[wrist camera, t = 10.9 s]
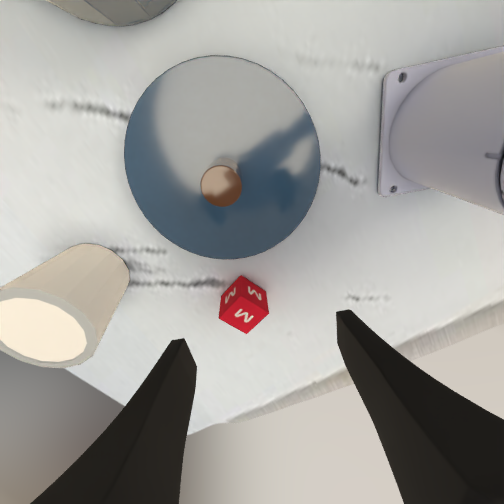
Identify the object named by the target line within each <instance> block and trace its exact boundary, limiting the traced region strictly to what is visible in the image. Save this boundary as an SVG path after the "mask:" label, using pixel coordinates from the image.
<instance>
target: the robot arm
mask: <svg viewBox="0 0 504 504" xmlns="http://www.w3.org/2000/svg"><path fill="white" fill-rule="evenodd" d="M400 74H402V75H403V80H402V82H401V83H400V82H399V80H398V77H399V75H400ZM392 186H394V189H393V191H390V189H391V187H392ZM430 188H432V189H434V190H437V191H440V192H443V193H445V194H448V195H451V196H454V197H456V198H459V199H462V200H465V201H467V202H470V203H473V204H475V205H478V206H481V207H484V208H486V209H489V210H492V211H495V212H497V213H500V214H503V215H504V46H500V47H495V48H491V49H486V50H482V51H477V52H473V53H468V54H464V55H459V56H455V57H450V58H446V59H441V60H436V61H432V62H427V63H423V64H418V65H414V66H409V67H405V68H400V69H396V70H392V71H390V72H388V73H387V74H386V76H385V77H384V81H383V99H382V119H381V138H380V158H379V178H378V193H379V195H381V196H383V197H388V196H393V195H399V194H404V193H409V192H414V191H419V190H425V189H430ZM336 319H337V343H338V346H339V349H340V352H341V354H342V357H343V360H344V363H345V365H346V367H347V369H348V371H349V373H350V376H351V378H352V380H353V382H354V384H355V386H356V388H357V390H358V392H359V394H360V396H361V398H362V400H363V402H364V404H365V406H366V408H367V410H368V412H369V414H370V416H371V419H372V421H373V423H374V425H375V428H376V430H377V433H378V436H379V438H380V441H381V443H382V446H383V448H384V451H385V453H386V456H387V458H388V461H389V464H390V467H391V469H392V472H393V475H394V477H395V480H396V482H397V485H398V488H399V491H400V494H401V496H402V499H403V502H404V504H504V420H503V419H502V418H500V417H498V416H496V415H494V414H492V413H490V412H489V411H487V410H485V409H483V408H482V407H480V406H478V405H476V404H475V403H473V402H471V401H470V400H468V399H466V398H464V397H463V396H461V395H459V394H458V393H456V392H454V391H453V390H451V389H450V388H448V387H447V386H445V385H443V384H442V383H440V382H439V381H437V380H436V379H434V378H433V377H431V376H430V375H428V374H427V373H425V372H424V371H423V370H421V369H420V368H418V367H417V366H416V365H414V364H413V363H412V362H410V361H409V360H408V359H406V358H405V357H404V356H402V355H401V354H400V353H399V352H397V351H396V350H395V349H394V348H392V347H391V346H390V345H389V344H388V343H386V342H385V341H384V340H383V339H382V338H380V337H379V336H378V335H377V334H376V333H375V332H374V331H372V330H371V329H370V328H369V327H368V326H367V325H366V324H365V323H364V322H363V321H362V320H361V319H360V318H358V317H357V316H356V315H355V314H354V313H353V312H352V311H351V310H344V311H338V312H336ZM196 373H197V366H196V363H195V361H194V359H193V357H192V354H191V352H190V350H189V348H188V346H187V343H186V341H185V339H184V338H183V339H177V340H172V341H171V342H170V344H169V345H168V347H167V348H166V350H165V351H164V353H163V354H162V356H161V357H160V359H159V360H158V362H157V363H156V365H155V366H154V367H153V369H152V370H151V372H150V373H149V375H148V376H147V378H146V379H145V380H144V382H143V383H142V385H141V386H140V387H139V389H138V390H137V391H136V393H135V394H134V395H133V397H132V398H131V399H130V401H129V402H128V403H127V405H126V406H125V407H124V408H123V410H122V411H121V412H120V413H119V415H118V416H117V417H116V418H115V419H114V420H113V422H112V423H111V424H110V425H109V426H108V427H107V429H106V430H105V431H104V432H103V433H102V434H101V435H100V436H99V437H98V438H97V440H96V441H95V442H94V443H93V444H92V445H91V446H90V447H89V448H88V449H87V450H86V451H85V452H84V453H83V455H81V457H79V459H77V461H76V462H74V463H73V464H72V465H71V466H70V467H69V468H68V469H67V470H66V471H65V472H64V473H63V474H62V475H61V476H60V477H59V478H58V479H57V480H56V481H55V482H54V483H53V484H52V485H50V486H49V487H48V488H47V489H46V490H45V491H44V492H43V493H42V494H41V495H40V496H38V497H37V498H36V499H35V500H34V501H33V502H32V503H30V504H179V494H180V482H181V473H182V463H183V454H184V448H185V441H186V436H187V431H188V426H189V420H190V415H191V410H192V405H193V399H194V394H195V387H196Z"/></svg>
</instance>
